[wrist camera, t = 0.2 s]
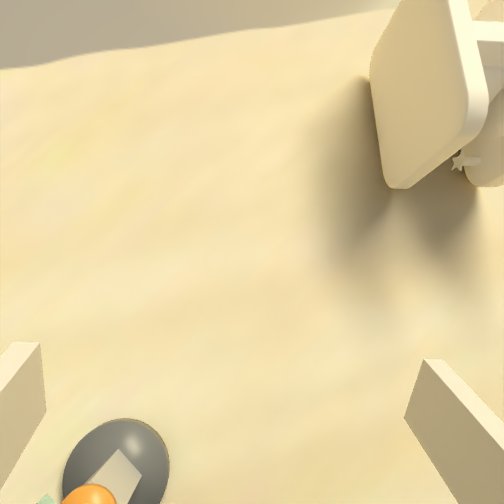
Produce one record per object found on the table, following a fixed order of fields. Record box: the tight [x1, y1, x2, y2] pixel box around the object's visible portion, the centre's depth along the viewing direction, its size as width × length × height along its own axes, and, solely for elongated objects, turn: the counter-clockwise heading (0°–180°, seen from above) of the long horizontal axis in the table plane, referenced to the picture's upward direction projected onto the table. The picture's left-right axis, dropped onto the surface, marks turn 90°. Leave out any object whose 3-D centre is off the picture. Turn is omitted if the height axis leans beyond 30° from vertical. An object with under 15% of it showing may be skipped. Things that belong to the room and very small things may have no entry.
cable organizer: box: [369, 0, 504, 189], centre depth 29 cm, size 15×11×12 cm
